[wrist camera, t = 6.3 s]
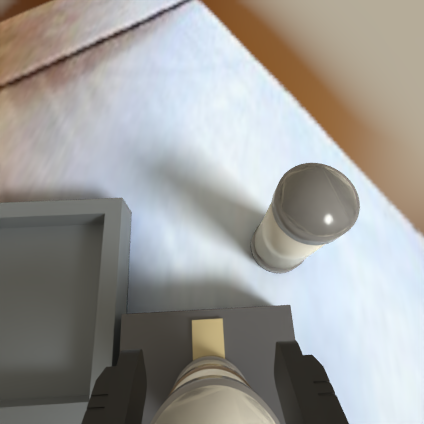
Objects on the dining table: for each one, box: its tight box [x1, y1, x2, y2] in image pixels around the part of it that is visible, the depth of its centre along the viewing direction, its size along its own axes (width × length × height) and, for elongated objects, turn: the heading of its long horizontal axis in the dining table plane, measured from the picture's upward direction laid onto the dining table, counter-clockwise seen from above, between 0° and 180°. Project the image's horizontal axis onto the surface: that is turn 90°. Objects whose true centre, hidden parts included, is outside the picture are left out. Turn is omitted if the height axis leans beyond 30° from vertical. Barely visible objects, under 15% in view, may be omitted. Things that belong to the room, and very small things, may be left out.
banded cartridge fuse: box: [150, 355, 280, 424], centre depth 11 cm, size 4×4×8 cm
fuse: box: [251, 163, 360, 273], centre depth 17 cm, size 4×4×8 cm
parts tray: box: [0, 198, 132, 424], centre depth 17 cm, size 12×12×2 cm
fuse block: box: [119, 305, 295, 424], centre depth 16 cm, size 9×8×3 cm
